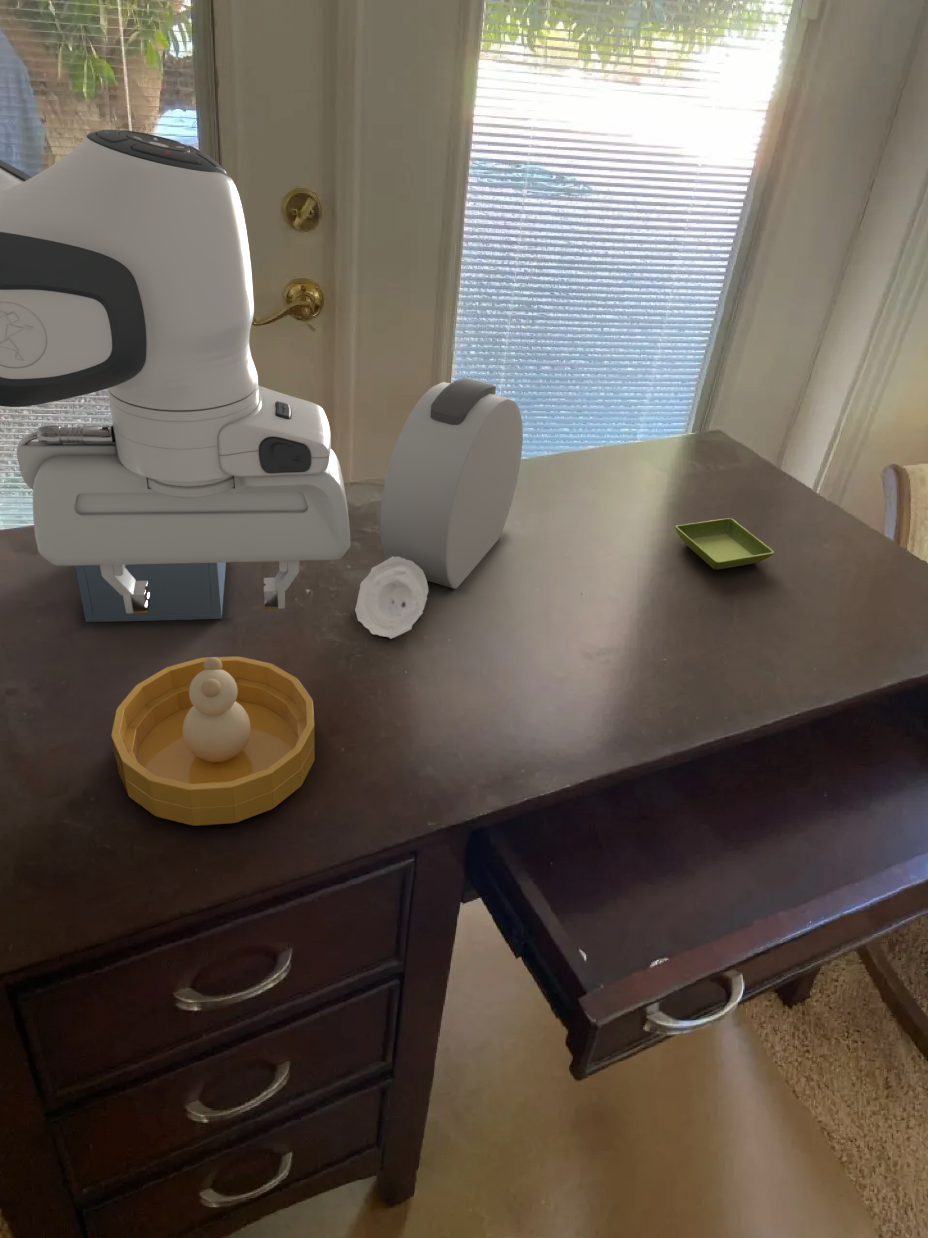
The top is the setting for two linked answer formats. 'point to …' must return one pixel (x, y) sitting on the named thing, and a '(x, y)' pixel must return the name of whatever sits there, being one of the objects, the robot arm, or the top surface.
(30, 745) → the top surface
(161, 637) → the top surface
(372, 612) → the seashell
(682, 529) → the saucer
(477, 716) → the top surface
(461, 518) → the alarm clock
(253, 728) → the bowl
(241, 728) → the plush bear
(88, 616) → the bin
